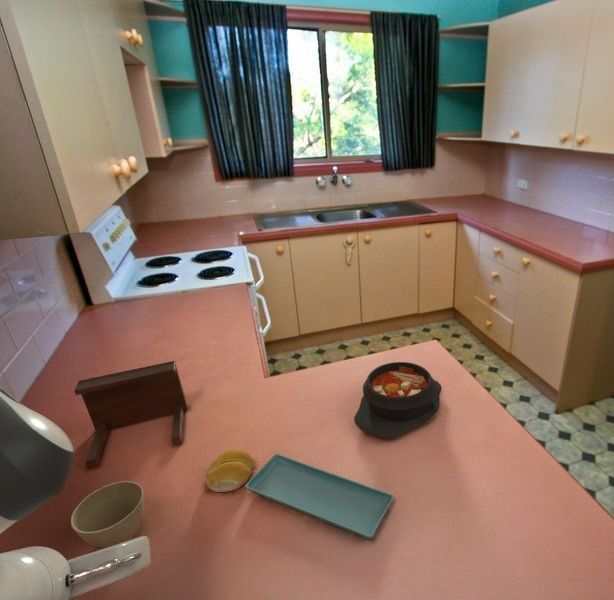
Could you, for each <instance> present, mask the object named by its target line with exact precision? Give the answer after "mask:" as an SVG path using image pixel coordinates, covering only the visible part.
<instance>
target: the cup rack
mask: <svg viewBox="0 0 614 600" xmlns="http://www.w3.org/2000/svg"><path fill="white" fill-rule="evenodd" d="M73 391H74V394H75V396H79V395H81V397H82V400H83V403H84V405H85V408H86V410H87V412H88V415H89V417H90V420H91V422H92V425H93V427H94V430H95V432H94V435H93V439H92V441H91V444H90V447H89V450H88V452H87V456H86V459H85V464H86V467H87V470H91V469H94V468H98V467H99V463H100V460H101V457H102V453H103V451H104V446H105V443H106V440H107V437H108V433H109V431H111V430H114V429H118V428H123V427H128V426H131V425H134V424H139V423H142V422H147V421H152V420H155V419H160V418H163V417H168V416H171V415H173V420H172V421H173V422H172V431H171V441H172V445H173V447H175V446H179V445H182V444H183V436H184V435H183V434H184V433H183V432H184V420H185V419H184V417H185V412H187V411H189V406H188V402H187V398H186V394H185V391H184V387H183V384H182V381H181V376H180V373H179V370H178V366H177V362H176V360H172V361H167V362H162V363H157V364H152V365H148V366H143V367H138V368H134V369H128V370H124V371H123V370H122V371H119V372H115V373H114V372H113V373H110V374H105V375H99V376H96V377H95V376H94V377H91V378H85V379H82V380H81V379H80V380H78V382H77V384H76V386H75V388H74V390H73Z"/></svg>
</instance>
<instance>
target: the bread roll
mask: <svg viewBox="0 0 614 600" xmlns="http://www.w3.org/2000/svg"><path fill="white" fill-rule="evenodd" d="M253 466H254V458H253V456H251V454H249V453H248V452H247V451H245V450H242V449H230V450H226V451H224V452H223V453H221V454H219V455H218V456H217V457H216V458H214V460H213V461H212V462H211V464H210V466H209V467H208V470H207V473H206V477H205V480H206V486H207V488H208V489H209V490H211V491H213V492H216V493H226V492H231V491H235V490H237V489H239V488H240V487H242V486H243V485H244V484H245V483H246V482H247V481H248V479H249V478H250V475H251V473H252V472H251V471H252V468H253Z"/></svg>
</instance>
